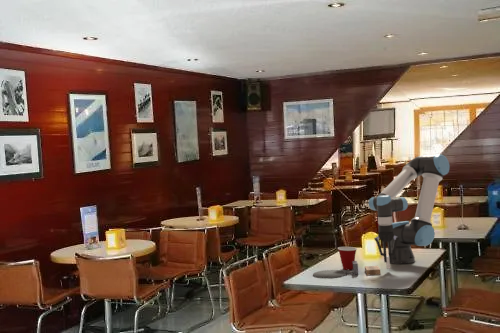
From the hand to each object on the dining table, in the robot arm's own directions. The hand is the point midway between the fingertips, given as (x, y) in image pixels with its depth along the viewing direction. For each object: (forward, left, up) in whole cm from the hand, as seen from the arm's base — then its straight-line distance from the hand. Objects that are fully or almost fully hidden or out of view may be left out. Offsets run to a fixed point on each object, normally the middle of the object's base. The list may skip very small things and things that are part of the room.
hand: (388, 268), depth 300 cm
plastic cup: (+20, -13, -2) cm, 24 cm away
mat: (+31, 0, -2) cm, 31 cm away
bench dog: (+17, 0, -2) cm, 18 cm away
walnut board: (+8, 0, -2) cm, 9 cm away
